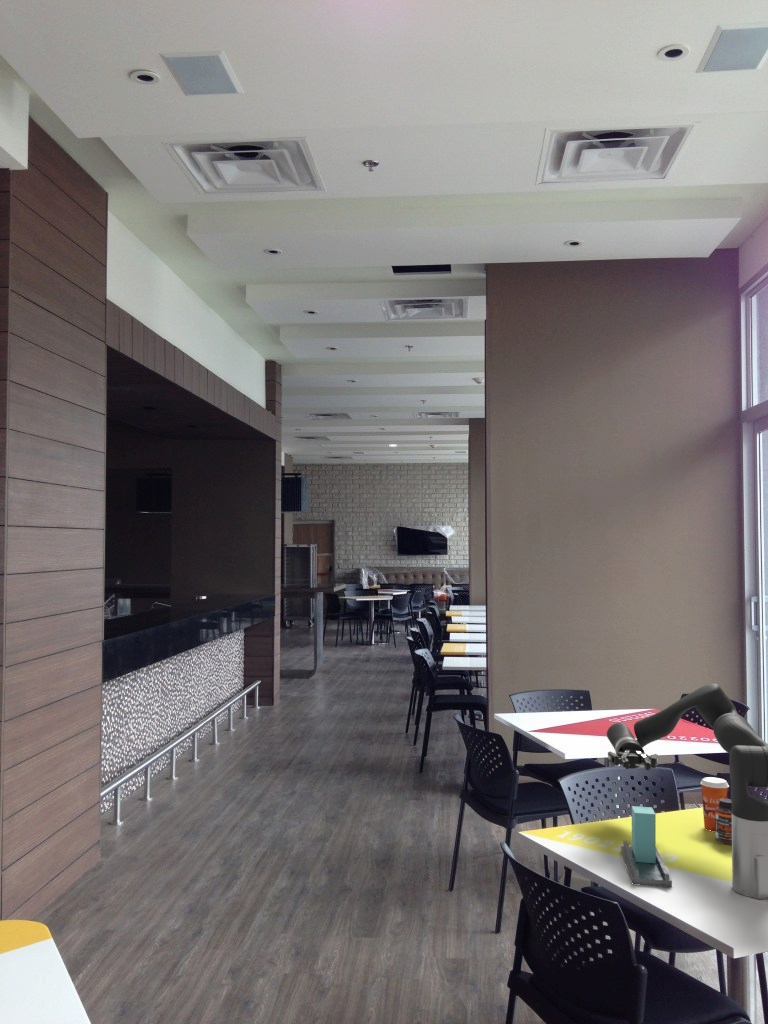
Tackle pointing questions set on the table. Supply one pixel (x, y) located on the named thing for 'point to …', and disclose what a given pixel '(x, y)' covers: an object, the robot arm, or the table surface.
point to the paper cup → (712, 798)
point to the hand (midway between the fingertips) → (637, 765)
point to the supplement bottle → (723, 822)
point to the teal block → (644, 834)
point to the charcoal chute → (645, 869)
